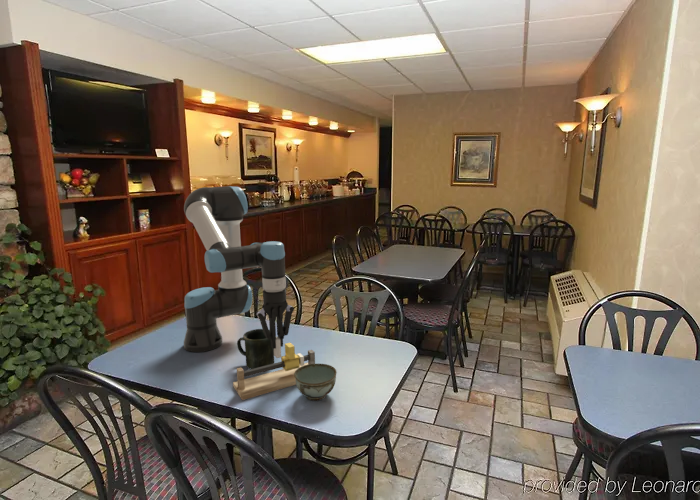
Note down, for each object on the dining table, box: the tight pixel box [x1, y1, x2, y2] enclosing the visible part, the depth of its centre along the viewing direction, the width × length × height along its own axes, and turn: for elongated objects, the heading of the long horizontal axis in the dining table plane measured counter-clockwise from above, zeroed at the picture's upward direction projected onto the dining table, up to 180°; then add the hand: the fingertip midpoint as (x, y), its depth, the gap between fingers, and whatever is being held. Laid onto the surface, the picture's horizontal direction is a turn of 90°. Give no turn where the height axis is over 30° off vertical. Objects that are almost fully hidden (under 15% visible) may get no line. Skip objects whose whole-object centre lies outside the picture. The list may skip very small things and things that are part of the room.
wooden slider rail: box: [232, 349, 316, 401], centre depth 143 cm, size 10×28×8 cm, turn 121°
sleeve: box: [280, 342, 299, 371], centre depth 144 cm, size 4×5×8 cm
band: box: [296, 352, 305, 366], centre depth 147 cm, size 3×1×3 cm, turn 31°
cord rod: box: [244, 354, 310, 378], centre depth 143 cm, size 1×24×1 cm, turn 121°
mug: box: [236, 328, 275, 370], centre depth 156 cm, size 11×15×12 cm
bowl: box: [294, 363, 338, 402], centre depth 134 cm, size 14×13×8 cm
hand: (277, 356), depth 142 cm, fingers closed
